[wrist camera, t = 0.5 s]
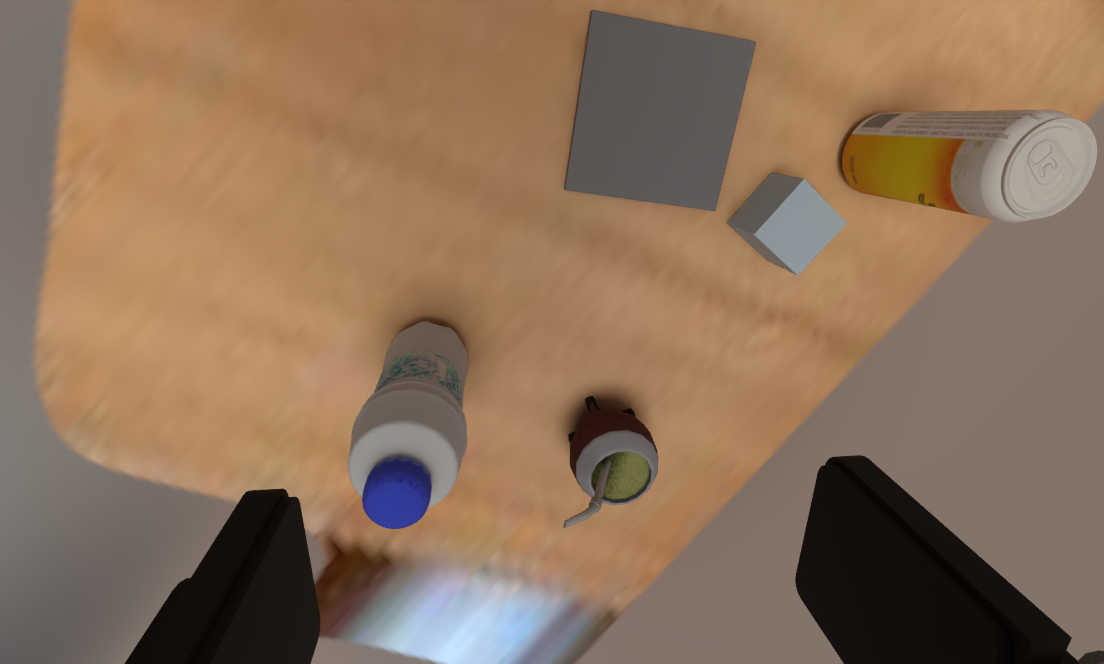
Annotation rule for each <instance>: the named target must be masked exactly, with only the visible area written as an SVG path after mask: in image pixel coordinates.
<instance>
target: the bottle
mask: <svg viewBox="0 0 1104 664" xmlns="http://www.w3.org/2000/svg"><path fill="white" fill-rule="evenodd" d="M467 371H468V355H467V351H466V349H465V347H464V345H463V343H462V342H461V340H460V339H459V337H458V336H457V334H456V333H455V331H454V330H452V329H451V328H449V327H443V326H439V325H436V324H432V323H430V322H428V321H422V322H419V323H417V324H415V325H413V326H411V327H409V328H407V329H405V330H404V331H401V332H400V333H398V334H397V335H396V337H395V338H394V340H393V341H392V343H391V345H390V346H389V349H388V351H387V354H386V357H385V361H384V366H383V371H382V374H381V376H380V379H379V381H378V384H377V386H376V389H375V391H374V394H373V395H372V396H371V397H370V398H369V399H368V400H367V401H366V402H365V404H364V405H363V407H362V409H361V411H360V413H359V414H358V416H357V418H356V420H355V422H354V425H353V429H352V436H351V438H352V439H351V447H350V453H349V459H348V472H349V477H350V480H351V483H352V485H353V486H354V488H355V490H356V491H357V492H358V494H359V495H360V496H361V497H362V502H363V508H364V511H365V512H366V514H367V516H368V517H369V518H370V519H371V520H372V521H373V522H375V523H376V524H378V525H380V526H382V527H385V528H390V529H400V528H405V527H407V526H410V525H412V524H414V523H416V522H417V521H418V520H420V519H421V518H422V517H423V515H424V514H425V512H426V510H427V508H430V507H432V506H433V505H435V504H437V503H438V502H440V501H441V500H442V499H443V498H445V497H446V496H447V494H448V493H449V492H450V491H451V489H452V487H453V485H454V484H455V482H456V479H457V476H458V472H459V469H460V466H461V462H462V459H463V457H464V454H465V451H466V447H467V427H466V419H465V416H464V413H463V411H462V408H463V394H464V385H465V381H466V376H467Z"/></svg>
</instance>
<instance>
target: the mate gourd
mask: <svg viewBox="0 0 1104 664" xmlns="http://www.w3.org/2000/svg"><path fill="white" fill-rule="evenodd" d="M585 401H586V404H587V407H588V409H589V411H590V413H591V414H590V415H589V416H587V417H586V418H585V419H584V420H583V421H582V422H581V423H580V425H579V426H578V428H577V430H576V431H575V432H573V433H571V434H569V435H568V437H569V442H570V443H571V445H570V467H571V469H572V471H573V474H574V476H575V478H576V480H577V482H578V484H579V485H580V486H581V488H582V490H583V491H584V492H585V493H587V494H588V495H589V496H590V497H592V499H591V501H590V503H589V508H587V509H586V510H585V511H583V512H581V513H579V514H577V515H575V516H573V517H572V518H570V519H568V520H566V521H565V522H564V528H566V527H569V526H571V525H574V524H576V523H579V522H581V521H583V520H586V519H588V518H589V517H590V516H592V515H593V514H594V513H595V512H598V511H599V510H600V508H601V506H602V503H607V504H610V505H621V504H628V503H630V502H632V501H635V500H637V499H639V498H640V497H641V496H642V495H643V494H644V493H646V492H647V491H648V490H649V489H650V487H651V485H652V483H653V481H654V479H655V477H656V475H657V471H658V455H657V449H656V446H655V444H654V441H653V439H652V436H651V434H650V432H649V431H648V429H647V428H646V427H645V426H644V424H643V423H641V422H640V421H639V420H638V419H636V418H635V413H634V411H633V410H632V409H631V408H629V409H627V410H624V411H622V412H620V411H617V410H599V408H598V406H597V404H596V402H595V399H594V398H593V396H590V397H588V398H586V399H585Z"/></svg>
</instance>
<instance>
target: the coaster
mask: <svg viewBox="0 0 1104 664" xmlns="http://www.w3.org/2000/svg"><path fill="white" fill-rule="evenodd" d="M755 45H756V42H755V41H750V40H745V39H739V38H734V37H729V36H724V35H719V34H714V33H708V32H703V31H698V30H693V29H688V28H682V27H677V26H672V25H667V24H662V23H657V22H651V21H646V20H641V19H636V18H631V17H626V16H620V15H615V14H610V13H605V12H600V11H594V10H592V11H591V14H590V21H589V27H588V34H587V41H586V47H585V54H584V61H583V67H582V74H581V81H580V87H579V94H578V101H577V107H576V114H575V121H574V127H573V134H572V140H571V147H570V154H569V160H568V167H567V174H566V180H565V187H564V189H565V190H568V191H575V192H582V193H589V194H597V195H604V196H611V197H618V198H625V199H633V200H640V201H647V202H654V203H661V204H668V205H676V206H683V207H690V208H697V209H704V210H712V211H715V210H716V205H717V201H718V197H719V193H720V189H721V185H722V181H723V177H724V173H725V169H726V164H727V160H728V156H729V152H730V148H731V144H732V140H733V136H734V132H735V127H736V123H737V119H738V115H739V111H740V107H741V103H742V99H743V95H744V90H745V86H746V82H747V78H748V74H749V70H750V66H751V62H752V58H753V53H754V49H755Z"/></svg>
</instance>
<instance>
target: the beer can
mask: <svg viewBox="0 0 1104 664" xmlns="http://www.w3.org/2000/svg"><path fill="white" fill-rule="evenodd" d="M1096 158H1097V144H1096V139H1095V137H1094V134H1093V133H1092V131H1091V129H1090V128H1089V127H1088V126H1087V125H1086V124H1085V123H1083V122H1081V121H1079V120H1077V119H1073V118H1071V117H1070V116H1068V115H1067V114H1065V113H1062V112H1060V111H1055V110H1010V111H938V112H884V113H879V114H876V115H873V116H871V117H869V118H867V119H866V120H864V121H863V122H862V123H861V124H859V125H858V126H857V127H856V129H855V130H854V131H853V132H852V134H851V135H850V137H849V139H848V141H847V143H846V145H845V148H844V152H843V157H842V167H843V172H844V176H845V178H846V180H847V182H848V183H849V184H850V186H852V187H853V188H854V189H855V190H857V191H859V192H861V193H865V194H870V195H875V196H880V197H885V198H890V199H895V200H900V201H905V202H910V203H915V204H921V205H926V206H931V207H936V208H941V209H946V210H951V211H956V212H961V213H966V214H971V215H976V216H981V217H986V218H991V219H996V220H1002V221H1007V222H1024V221H1028V220H1032V219H1038V218H1044V217H1048V216H1051V215H1053V214H1056V213H1058V212H1059V211H1061V210H1063V209H1064V208H1066V207H1067V206H1068V205H1070V204H1071V203H1072V202H1073V201H1074V200H1075V199H1076V198H1077V197H1078V196H1079V195H1080V194H1081V192H1082V191H1083V190H1084V188H1085V187H1086V185H1087V183H1088V182H1089V180H1090V178H1091V176H1092V173H1093V171H1094V167H1095V164H1096Z"/></svg>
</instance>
